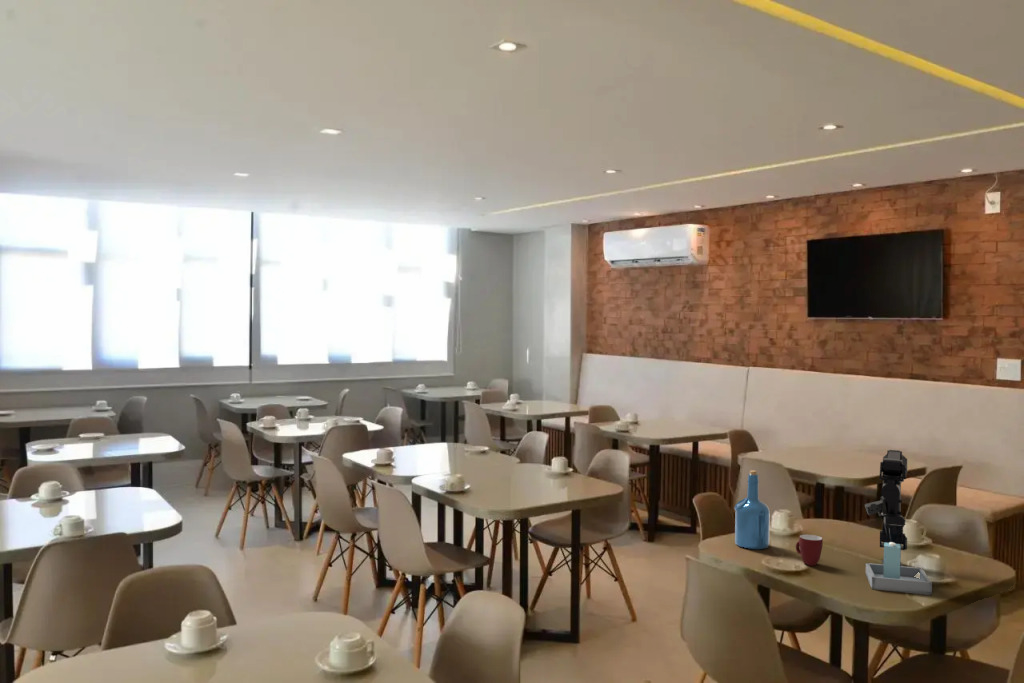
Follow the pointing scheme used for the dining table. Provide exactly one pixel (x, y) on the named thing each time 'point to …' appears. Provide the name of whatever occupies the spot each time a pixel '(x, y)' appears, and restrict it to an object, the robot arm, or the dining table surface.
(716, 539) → the dining table surface
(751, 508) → the wine bottle
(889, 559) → the carton
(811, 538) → the mug
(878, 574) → the gray square tray
